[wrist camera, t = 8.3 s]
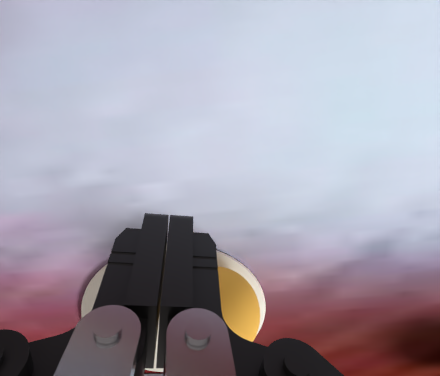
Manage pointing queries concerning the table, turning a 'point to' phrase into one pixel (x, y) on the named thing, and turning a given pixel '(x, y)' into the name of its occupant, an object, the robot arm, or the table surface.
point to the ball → (239, 304)
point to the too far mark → (153, 374)
